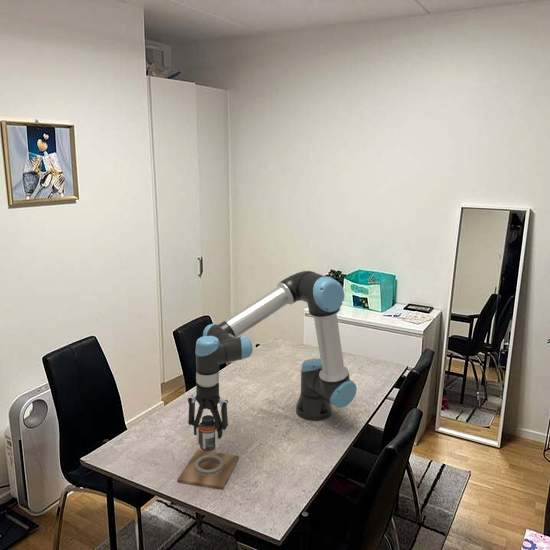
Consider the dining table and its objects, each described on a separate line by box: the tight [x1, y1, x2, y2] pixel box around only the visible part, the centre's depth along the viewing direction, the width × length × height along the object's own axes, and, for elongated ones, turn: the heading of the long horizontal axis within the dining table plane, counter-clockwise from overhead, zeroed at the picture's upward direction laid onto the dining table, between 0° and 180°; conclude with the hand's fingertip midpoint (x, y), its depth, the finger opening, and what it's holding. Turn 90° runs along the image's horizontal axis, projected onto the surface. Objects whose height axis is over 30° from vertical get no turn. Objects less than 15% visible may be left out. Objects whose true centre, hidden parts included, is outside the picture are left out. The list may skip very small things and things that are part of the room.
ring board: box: [176, 449, 240, 491], centre depth 178 cm, size 16×18×3 cm
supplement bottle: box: [199, 414, 217, 452], centre depth 175 cm, size 6×6×11 cm
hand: (208, 444), depth 176 cm, fingers closed on supplement bottle, 6 cm apart
